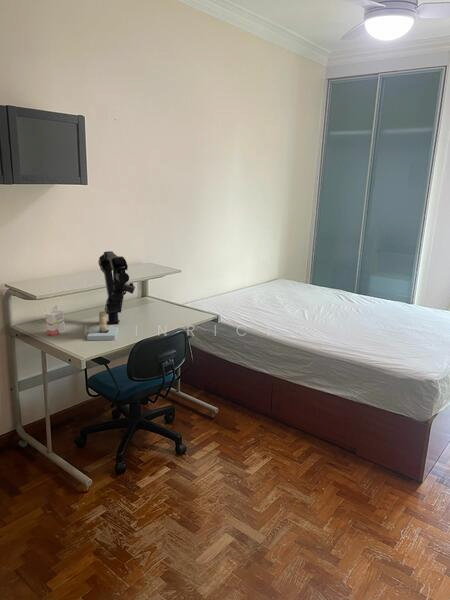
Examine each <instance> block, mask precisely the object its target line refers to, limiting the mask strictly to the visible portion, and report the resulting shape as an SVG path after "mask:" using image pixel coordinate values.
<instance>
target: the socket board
mask: <svg viewBox="0 0 450 600" xmlns="http://www.w3.org/2000/svg"><path fill="white" fill-rule="evenodd" d="M118 334H119V327H116V326H115V327H113V326H109V327H108V326H107V333H100V327H91V329H90V330H89V332H88V334H87V337H86V338H87V341H115V340H116V338H117V337H118Z"/></svg>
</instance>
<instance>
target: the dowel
mask: <svg viewBox="0 0 450 600" xmlns="http://www.w3.org/2000/svg"><path fill="white" fill-rule="evenodd" d="M98 315H99V316H98V319H99V320H98V321H99V328H100V333H107V327H108V326H107V325H108V324H107V314H106V312H105V311H99V312H98Z"/></svg>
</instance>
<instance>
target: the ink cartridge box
mask: <svg viewBox="0 0 450 600" xmlns="http://www.w3.org/2000/svg"><path fill="white" fill-rule="evenodd" d="M45 322H46V323H45V324H46V335H48V336H52V337H56V336H57V335H59V334H62V333H65V331H66V330H65V329H66V327H65V313H64V311H62V310H58V305H57V304H56V305H53V306H50V307H47V308H45Z"/></svg>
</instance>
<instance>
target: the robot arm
mask: <svg viewBox="0 0 450 600" xmlns="http://www.w3.org/2000/svg"><path fill="white" fill-rule="evenodd" d="M98 266H99V268H100V271H101V272H102V273H103V274H104V280H105V287H106V292H107V293H106V294H107V299H106V302H105V307H104V312H106V315H107V318H108V319H107V321H106V323H107V325H118V324H119V323H120V319H119V313H122V307H123V303H124V302H123V301H124V298H125V297H124V296H125V295H126V294H127V293H130V294H134V292H135V288H136V286H135V285H134V283H133V282H130V283H128V282H129V280H130V276H129V273H127V272H126V271H128V267H129V266H128V264H127V260H126V258H124V256H121V255H120V256H118V255H116V254H115V253H114V251H112V250H111V251H103V254H102V255H100V257H99V258H98Z"/></svg>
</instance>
